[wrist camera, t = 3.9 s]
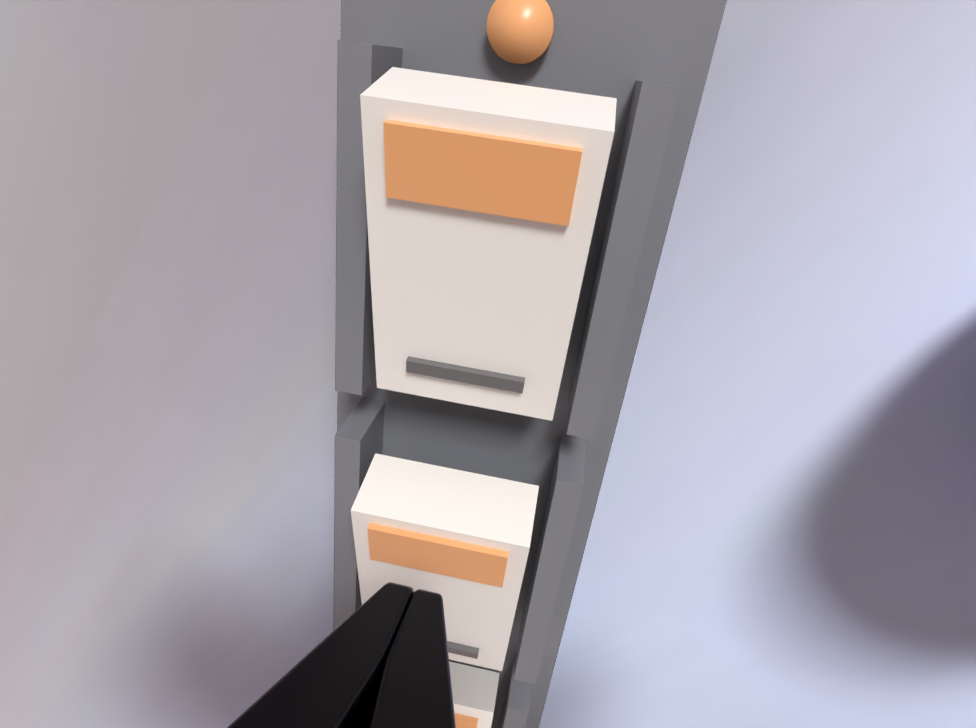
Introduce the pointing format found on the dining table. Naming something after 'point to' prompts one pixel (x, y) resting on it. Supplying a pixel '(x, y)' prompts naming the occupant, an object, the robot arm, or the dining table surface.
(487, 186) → the block
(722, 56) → the dining table surface
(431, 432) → the rocker switch panel
